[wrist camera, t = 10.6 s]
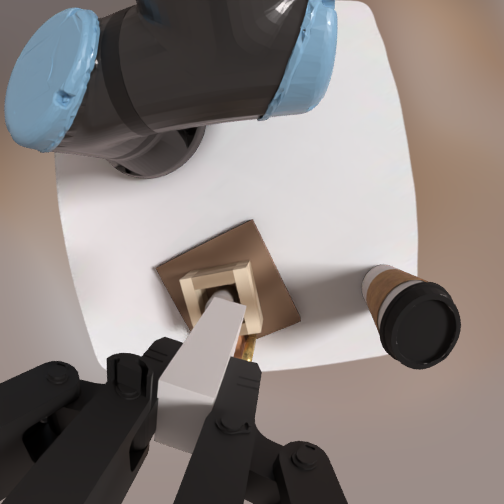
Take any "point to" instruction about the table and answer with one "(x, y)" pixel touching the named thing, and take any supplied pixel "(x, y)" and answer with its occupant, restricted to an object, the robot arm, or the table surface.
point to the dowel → (249, 347)
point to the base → (265, 275)
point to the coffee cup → (411, 316)
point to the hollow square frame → (219, 276)
